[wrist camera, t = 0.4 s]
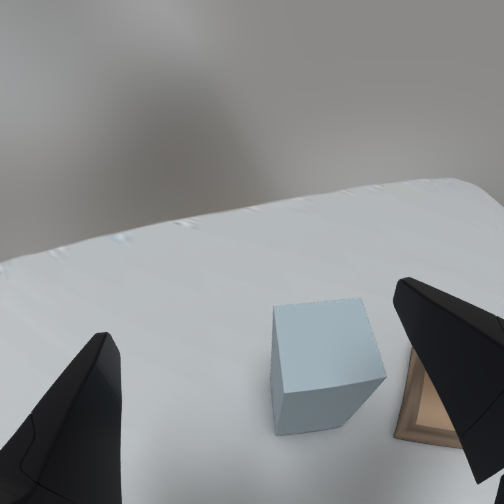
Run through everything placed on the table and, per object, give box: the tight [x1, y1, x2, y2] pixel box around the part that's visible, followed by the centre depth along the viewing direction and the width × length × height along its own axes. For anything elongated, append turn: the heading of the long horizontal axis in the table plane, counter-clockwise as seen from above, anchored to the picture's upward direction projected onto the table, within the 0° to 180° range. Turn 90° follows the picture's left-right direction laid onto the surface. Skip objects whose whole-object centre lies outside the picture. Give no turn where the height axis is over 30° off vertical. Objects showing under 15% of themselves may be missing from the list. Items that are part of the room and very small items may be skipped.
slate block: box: [270, 298, 387, 436], centre depth 17 cm, size 5×5×10 cm
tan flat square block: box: [394, 346, 462, 448], centre depth 18 cm, size 9×9×4 cm
